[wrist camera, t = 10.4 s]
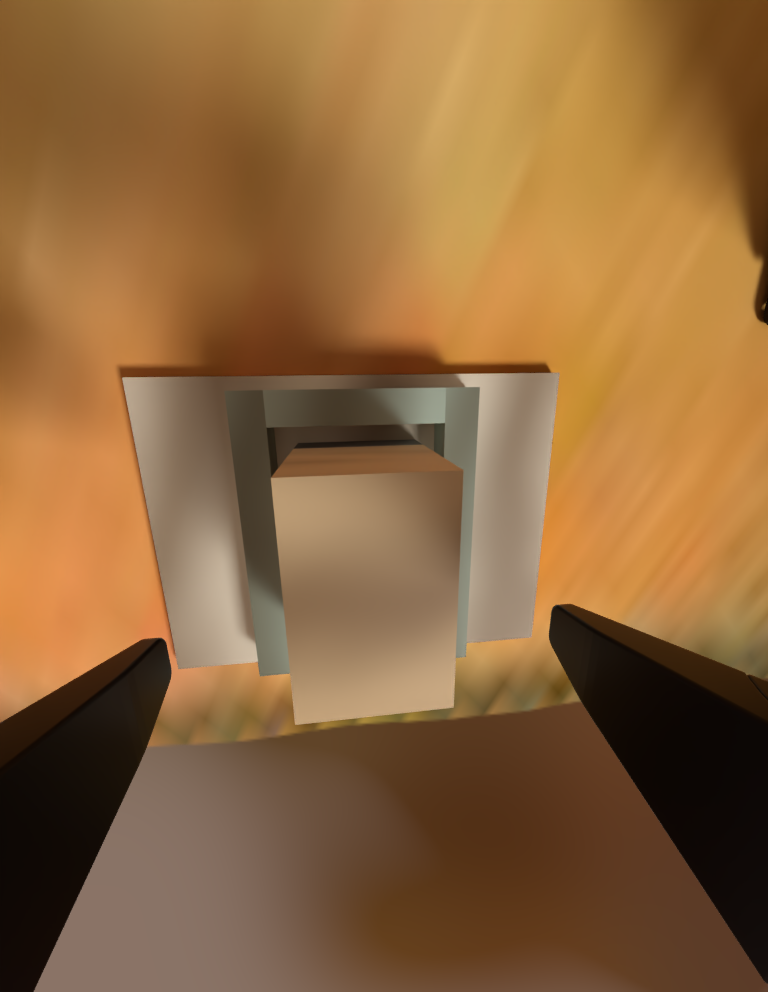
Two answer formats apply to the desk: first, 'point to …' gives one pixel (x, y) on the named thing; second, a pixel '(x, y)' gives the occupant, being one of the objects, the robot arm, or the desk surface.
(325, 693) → the plug block
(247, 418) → the socket plate
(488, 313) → the desk surface
